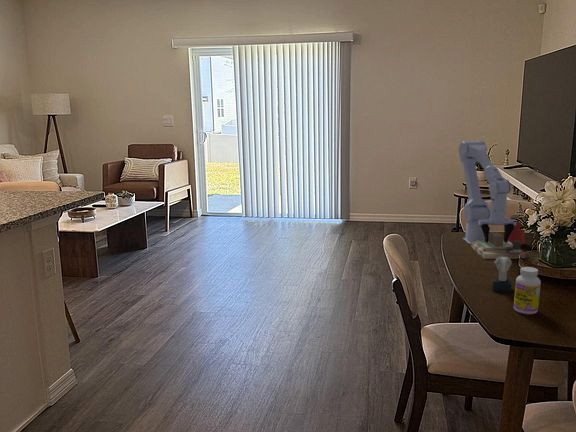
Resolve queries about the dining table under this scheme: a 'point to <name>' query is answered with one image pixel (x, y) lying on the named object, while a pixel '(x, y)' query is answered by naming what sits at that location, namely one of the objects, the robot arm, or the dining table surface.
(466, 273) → the dining table surface
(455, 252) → the dining table surface
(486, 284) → the dining table surface
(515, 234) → the beer can
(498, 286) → the white and black piece
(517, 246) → the latch bolt
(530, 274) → the supplement bottle
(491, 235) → the cover
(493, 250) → the picture frame
